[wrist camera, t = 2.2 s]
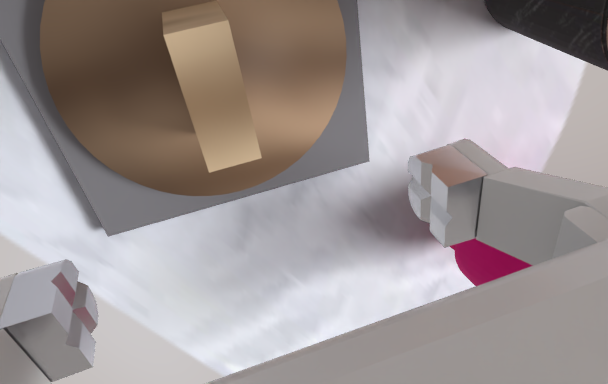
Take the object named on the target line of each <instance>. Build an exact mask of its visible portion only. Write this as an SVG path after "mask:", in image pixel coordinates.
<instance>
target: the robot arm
mask: <svg viewBox="0 0 608 384" xmlns="http://www.w3.org/2000/svg"><path fill="white" fill-rule="evenodd" d="M408 172H409V173H410V174H411V175H412V176H413V179H412V180H411V182H410V183H409V185H408V196H409V200H410V203H411V207H412V209H413V210H414V212H415V214H416V215H417V216H418V218H419V219H420V220H422V221H425V222H428V223H430V232H431V233H432V234H433V235H434V236H435V238H436V239H437V240H438V241H439V242H440V243H441V244H442V246H443V247H444V248H445V247H448V246H452V245H455V244H458V243H461V242H465V241H468V240H471V239H474V238H476V240H478V241H481V242H483V243H485V244H487V245H489V246H491V247H494V248H496V249H498V250H500V251H502V252H505V253H507V254H509V255H511V256H513V257H515V258H518V259H520V260H522V261H524V262H526V263H529V264H531V265H533V266H531V267H528V268H525V269H523V270H520V271H517V272H514V273H512V274H509V275H506V276H503V277H501V278H498V279H495V280H492V281H489V282H487V283H484V284H481V285H478V286H476V287H473V288H470V289H467V290H465V291H462V292H459V293H456V294H453V295H451V296H448V297H445V298H442V299H439V300H437V301H434V302H431V303H428V304H425V305H423V306H420V307H417V308H414V309H411V310H409V311H406V312H403V313H400V314H397V315H395V316H392V317H389V318H386V319H383V320H381V321H378V322H375V323H372V324H369V325H366V326H364V327H361V328H358V329H355V330H353V331H350V332H347V333H344V334H341V335H339V336H336V337H333V338H330V339H327V340H325V341H322V342H319V343H316V344H314V345H311V346H308V347H305V348H302V349H300V350H297V351H294V352H291V353H289V354H286V355H283V356H280V357H277V358H275V359H272V360H269V361H266V362H264V363H261V364H258V365H255V366H252V367H250V368H247V369H244V370H241V371H239V372H236V373H233V374H230V375H227V376H225V377H222V378H219V379H216V380H213V381H211V382H208V383H205V384H608V187H603V186H599V185H594V184H590V183H585V182H581V181H576V180H571V179H567V178H562V177H558V176H553V175H549V174H544V173H540V172H535V171H531V170H526V169H521V168H517V167H513V168H510V169H509V168H507V167H506V166H505V165H503V164H502V163H501V162H499V161H498V160H496V159H495V158H494V157H492V156H491V155H490V154H488V153H487V152H486V151H484V150H483V149H482V148H480V147H479V146H478V145H476V144H475V143H474V142H472V141H471V140H468V139H463V140H460V141H457V142H454V143H451V144H448V145H446V146H443V147H440V148H437V149H433V150H430V151H427V152H424V153H421V154H417V155H414V156H411V157H410V158H409V161H408ZM78 274H79V271H78V270H77V268H76V267H75V266H74V264H73V263H72V261H69V260H62V261H59V262H55V263H51V264H48V265H44V266H41V267H37V268H33V269H30V270H26V271H23V272H20V273H16V274H13V275H9V276H6V277H3V278H0V384H52V383H51V382H53V381H56V380H59V379H62V378H64V377H67V376H70V375H72V374H75V373H78V372H81V371H83V370H86V369H89V368H91V367H93V361H94V352H95V343H96V342H95V340H94V338H93V337H92V335H91V333H92V332H93V330H94V329H95V328H96V326H97V323H98V311H97V304H96V301H95V298H94V296H93V293H92V292H91V290H90V288H89V287H88V285H85V284H83V283H80V282H78V281H77V280H78Z"/></svg>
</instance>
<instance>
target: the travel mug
mask: <svg viewBox="0 0 608 384" xmlns="http://www.w3.org/2000/svg"><path fill="white" fill-rule="evenodd" d="M485 3H486V6H487V8H488V10H489V12H490V13H491V15H492V16H493V18H494V19H495V20H496V21H497V22H498V23H500V24H501V25H503V26H504V27H506V28H508V29H511V30H513V31H515V32H517V33H520V34H522V35H524V36H526V37H529V38H531V39H534V40H536V41H538V42H541V43H543V44H546V45H548V46H550V47H553V48H555V49H557V50H560V51H562V52H565V53H567V54H569V55H572V56H574V57H577V58H579V59H581V60H584V61H586V62H588V63H591V64H593V65H596V66H598V67H600V68H603V69H605V70H608V0H485Z"/></svg>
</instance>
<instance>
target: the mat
mask: <svg viewBox="0 0 608 384" xmlns="http://www.w3.org/2000/svg"><path fill="white" fill-rule="evenodd" d="M337 1H338V4H339V8H340V11H341V14H342V18H343V22H344V29H345V35H346V52H347V58H346V70H345V77H344V82H343V86H342V91H341V94H340V97H339V100H338V103H337V106H336V108H335V110H334V112H333V115H332V117H331V119H330V121H329V123H328V124H327V126H326V127H325V129H324V131H323V132H322V134H321V135H320V137H319V138H318V139H317V140H316V142H315V143H314V144H313V145H312V147H311V148H310V149H309V150H308V151H307V152H306V153H305V154H304V155H303V156H302V157H301V158H300V159H299V160H298V161H296V162H295V163H294V164H293V165H291V166H290V167H289V168H287V169H286V170H285V171H283V172H281V173H280V174H278V175H277V176H275V177H273V178H272V179H270V180H267V181H265V182H263V183H261V184H259V185H257V186H254V187H251V188H248V189H245V190H242V191H238V192H233V193H229V194H223V195H215V196H186V195H176V194H171V193H166V192H162V191H158V190H155V189H152V188H148V187H145V186H142V185H140V184H138V183H136V182H134V181H131V180H129V179H127V178H125V177H123V176H122V175H120V174H118V173H117V172H115V171H113V170H112V169H110V168H108V167H107V166H106V165H105V164H103V163H102V162H101V161H99V160H98V159H97V158H96V157H94V156H93V155H92V154H91V153H90V152H89V151H88V150H87V149H86V148H85V147H84V146H83V145H82V144H81V143H80V142H79V141H78V139H77V138H76V137H75V136H74V134H73V133H72V132H71V131H70V129H69V128H68V127H67V125H66V123H65V122H64V120H63V118H62V117H61V115H60V113H59V112H58V110H57V108H56V106H55V104H54V101H53V99H52V97H51V94H50V92H49V90H48V86H47V83H46V79H45V76H44V72H43V67H42V60H41V53H40V24H41V18H42V12H43V6H44V2H45V0H0V40H1V42H2V44H3V46H4V47H5V49H6V51H7V53H8V55H9V57H10V58H11V60H12V62H13V64H14V66H15V68H16V69H17V71H18V73H19V75H20V77H21V79H22V80H23V82H24V84H25V86H26V88H27V89H28V91H29V93H30V95H31V97H32V99H33V100H34V102H35V104H36V106H37V108H38V110H39V111H40V113H41V115H42V117H43V119H44V121H45V122H46V124H47V126H48V128H49V130H50V131H51V133H52V135H53V137H54V139H55V141H56V142H57V144H58V146H59V148H60V150H61V152H62V153H63V155H64V157H65V159H66V161H67V163H68V164H69V166H70V168H71V170H72V172H73V173H74V175H75V177H76V179H77V181H78V183H79V184H80V186H81V188H82V190H83V192H84V194H85V195H86V197H87V199H88V201H89V203H90V204H91V206H92V208H93V210H94V212H95V214H96V215H97V217H98V219H99V221H100V223H101V225H102V226H103V228H104V230H105V232H106V234H107V236H112V235H115V234H118V233H122V232H125V231H129V230H132V229H136V228H139V227H143V226H146V225H150V224H153V223H157V222H160V221H164V220H167V219H170V218H174V217H177V216H181V215H184V214H188V213H191V212H195V211H198V210H202V209H205V208H209V207H212V206H216V205H219V204H223V203H226V202H229V201H233V200H236V199H240V198H243V197H247V196H250V195H254V194H257V193H261V192H264V191H268V190H271V189H275V188H278V187H282V186H285V185H288V184H292V183H295V182H299V181H302V180H306V179H309V178H313V177H316V176H320V175H323V174H327V173H330V172H334V171H337V170H341V169H344V168H347V167H351V166H354V165H358V164H361V163H365V162H368V161H369V150H368V137H367V124H366V111H365V99H364V86H363V73H362V60H361V47H360V34H359V22H358V9H357V0H337Z"/></svg>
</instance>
